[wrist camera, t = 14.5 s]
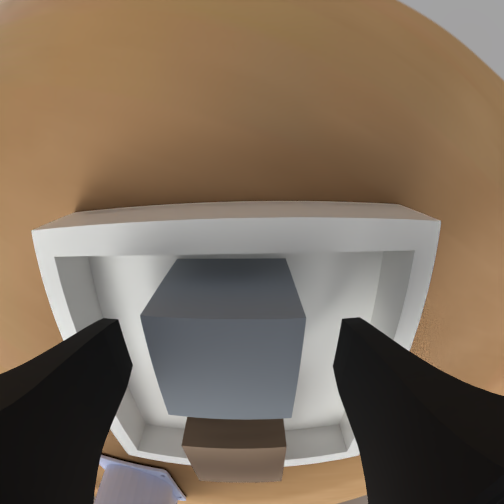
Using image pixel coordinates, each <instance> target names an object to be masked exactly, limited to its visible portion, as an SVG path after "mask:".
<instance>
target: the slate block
mask: <svg viewBox="0 0 504 504" xmlns="http://www.w3.org/2000/svg"><path fill="white" fill-rule="evenodd" d="M140 319H141V323H142V327H143V331H144V336H145V339H146V343H147V347H148V351H149V355H150V358H151V362H152V365H153V369H154V372H155V375H156V379H157V382H158V385H159V388H160V391H161V394H162V397H163V400H164V403H165V406H166V409H167V412H168V414H169V415H176V416H185V417H196V418H211V419H242V420H252V419H283V418H292V412H293V407H294V401H295V395H296V389H297V383H298V376H299V370H300V363H301V356H302V348H303V341H304V333H305V325H306V316H305V313H304V310H303V307H302V304H301V301H300V298H299V295H298V292H297V289H296V286H295V284H294V281H293V278H292V275H291V272H290V269H289V266H288V264H287V261H286V258H246V259H177V260H176V261H175V263H174V264H173V265H172V267H171V268H170V270H169V271H168V273H167V274H166V276H165V277H164V279H163V280H162V282H161V283H160V285H159V287H158V288H157V290H156V291H155V293H154V294H153V296H152V297H151V299H150V300H149V302H148V304H147V305H146V307H145V308H144V310H143V311H142V313H141V315H140Z"/></svg>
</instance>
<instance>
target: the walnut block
mask: <svg viewBox="0 0 504 504" xmlns="http://www.w3.org/2000/svg"><path fill="white" fill-rule="evenodd" d="M181 446H182V448H183V450H184V452H185V454H186V456H187V458H188V460H189V462H190V464H191V466H192V468H193V470H194V471H195V473H196V475H197V477H198V479H199V481H213V482H274V481H282V475H283V468H284V462H285V455H286V448H287V445H286V437H285V428H284V420H283V419H252V420H242V419H211V418H196V417H187V420H186V425H185V430H184V435H183V440H182V445H181Z"/></svg>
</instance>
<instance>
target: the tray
mask: <svg viewBox="0 0 504 504" xmlns="http://www.w3.org/2000/svg"><path fill="white" fill-rule="evenodd" d="M440 226H441V221H440V220H438V219H435V218H433V217H430V216H428V215H425V214H423V213H420V212H418V211H415V210H413V209H410V208H408V207H405V206H402V205H400V204H385V203H364V202H334V201H235V202H204V203H183V204H165V205H150V206H136V207H124V208H112V209H102V210H92V211H82V212H74V213H71V214H69V215H66V216H64V217H61V218H59V219H56V220H54V221H52V222H49V223H47V224H45V225H42V226H40V227H38V228H36V229H33V230H31V232H32V237H33V242H34V247H35V252H36V256H37V260H38V264H39V268H40V272H41V276H42V280H43V283H44V287H45V290H46V293H47V296H48V300H49V303H50V306H51V309H52V312H53V314H54V317H55V320H56V323H57V325H58V328H59V331H60V333H61V336H62V338H63V341H64V340H66V339H67V338H69V337H71V336H72V335H74V334H76V333H77V332H79V331H80V330H82V329H84V328H85V327H87V326H89V325H91V324H92V323H94V322H96V321H98V320H100V319H102V318H109V319H118V320H119V323H120V327H121V330H122V333H123V337H124V340H125V343H126V346H127V349H128V352H129V355H130V358H131V361H132V364H133V367H132V371H131V375H130V379H129V382H128V386H127V389H126V392H125V394H124V396H123V399H122V401H121V404H120V406H119V408H118V411H117V413H116V415H115V418H114V420H113V422H112V425H111V427H110V429H111V431H112V432H113V434H114V435H115V437H116V438H117V440H118V441H119V442H120V444H121V445H122V447H123V448H124V449H125V451H126V452H127V453H128V455H132V456H137V457H141V458H146V459H152V460H157V461H163V462H170V463H177V464H185V465H191V464H190V462H189V460H188V458H187V456H186V454H185V452H184V450H183V448H182V446H181V445H182V440H183V435H184V430H185V425H186V420H187V417H185V416H176V415H169V414H168V412H167V409H166V406H165V403H164V400H163V397H162V394H161V391H160V388H159V385H158V382H157V379H156V375H155V372H154V369H153V365H152V362H151V358H150V355H149V351H148V347H147V343H146V339H145V336H144V331H143V327H142V323H141V319H140V315H141V313H142V311H143V310H144V308H145V307H146V305H147V304H148V302H149V300H150V299H151V297H152V296H153V294H154V293H155V291H156V290H157V288H158V287H159V285H160V283H161V282H162V280H163V279H164V277H165V276H166V274H167V273H168V271H169V270H170V268H171V267H172V265H173V264H174V263H175V261H176V260H177V259H246V258H286V261H287V264H288V266H289V269H290V272H291V275H292V278H293V281H294V284H295V286H296V289H297V292H298V295H299V298H300V301H301V304H302V307H303V310H304V313H305V316H306V325H305V333H304V341H303V348H302V356H301V363H300V370H299V376H298V383H297V389H296V395H295V401H294V407H293V412H292V418H283V420H284V428H285V437H286V445H287V448H286V455H285V462H284V467H285V466H296V465H305V464H313V463H321V462H327V461H333V460H339V459H344V458H349V457H354V456H358V455H359V454H360V452H359V449H358V445H357V442H356V440H355V437H354V434H353V431H352V428H351V426H350V423H349V420H348V417H347V415H346V412H345V409H344V406H343V404H342V401H341V398H340V395H339V392H338V388H337V384H336V380H335V375H334V370H333V363H334V358H335V353H336V348H337V343H338V338H339V333H340V327H341V322H342V319H345V318H356V317H360V318H362V319H364V320H365V321H367V322H368V323H370V324H371V325H373V326H374V327H375V328H377V329H378V330H380V331H381V332H382V333H384V334H385V335H387V336H388V337H389V338H391V339H392V340H394V341H395V342H397V343H398V344H399V345H401V346H402V347H404V348H405V349H407V350H408V351H410V348H411V345H412V342H413V339H414V336H415V333H416V330H417V327H418V324H419V321H420V318H421V314H422V311H423V307H424V304H425V300H426V296H427V293H428V289H429V284H430V280H431V276H432V271H433V267H434V262H435V257H436V251H437V246H438V240H439V233H440Z"/></svg>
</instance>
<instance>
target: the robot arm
mask: <svg viewBox="0 0 504 504" xmlns="http://www.w3.org/2000/svg"><path fill="white" fill-rule="evenodd" d="M132 367H133V364H132V361H131V358H130V355H129V352H128V349H127V346H126V343H125V340H124V337H123V333H122V330H121V327H120V323H119V320H118V319H109V318H102V319H100V320H98V321H96V322H94V323H92V324H91V325H89V326H87V327H85V328H84V329H82V330H80V331H79V332H77V333H76V334H74V335H72V336H71V337H69V338H67V339H66V340H64V341H63V342H61V343H59V344H58V345H56V346H54V347H53V348H51V349H49V350H47V351H46V352H44V353H42V354H41V355H39V356H37V357H35V358H34V359H32V360H30V361H28V362H26V363H24V364H22V365H20V366H18V367H16V368H14V369H11V370H9V371H7V372H4V373H2V374H0V504H93V502H94V501H93V500H94V490H95V483H96V477H97V471H98V466H99V464H100V465H101V466H102V467H103V468H104V469H105V472H104V474H103V477H102V480H101V483H100V486H99V489H98V492H97V496H96V499H95V502H94V504H177V502H178V500H182V501H186V497H185V495H184V494H183V493H182V491H181V490H180V489H179V487H178V486H177V485H176V483H175V482H174V480H173V479H172V478H171V476H170V475H169V473H168V472H167V471H166V470H164V469H159V468H153V467H148V466H143V465H139V464H134V463H130V462H126V461H122V460H118V459H114V458H111V457H107V456H104V455H101V453H102V449H103V446H104V443H105V440H106V437H107V435H108V432H109V430H110V427H111V425H112V422H113V420H114V418H115V415H116V413H117V411H118V408H119V406H120V404H121V401H122V399H123V396H124V394H125V392H126V389H127V386H128V382H129V379H130V375H131V371H132ZM333 370H334V375H335V380H336V384H337V388H338V392H339V395H340V398H341V401H342V404H343V406H344V409H345V412H346V415H347V417H348V420H349V423H350V426H351V428H352V431H353V434H354V437H355V440H356V442H357V445H358V449H359V452H360V456H361V461H362V466H363V471H364V476H365V482H366V489H367V496H368V504H504V396H501V395H498V394H495V393H491V392H489V391H486V390H483V389H480V388H478V387H475V386H472V385H470V384H468V383H465V382H463V381H461V380H459V379H457V378H455V377H453V376H451V375H449V374H447V373H445V372H443V371H441V370H439V369H437V368H435V367H434V366H432V365H430V364H429V363H427V362H426V361H424V360H422V359H421V358H419V357H417V356H416V355H414V354H413V353H411V352H410V351H408V350H407V349H405V348H404V347H402V346H401V345H399V344H398V343H397V342H395V341H394V340H392V339H391V338H389V337H388V336H387V335H385V334H384V333H382V332H381V331H380V330H378V329H377V328H375V327H374V326H373V325H371V324H370V323H368V322H367V321H365V320H364V319H362V318H360V317H356V318H345V319H342V322H341V327H340V333H339V338H338V343H337V348H336V353H335V358H334V363H333Z"/></svg>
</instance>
